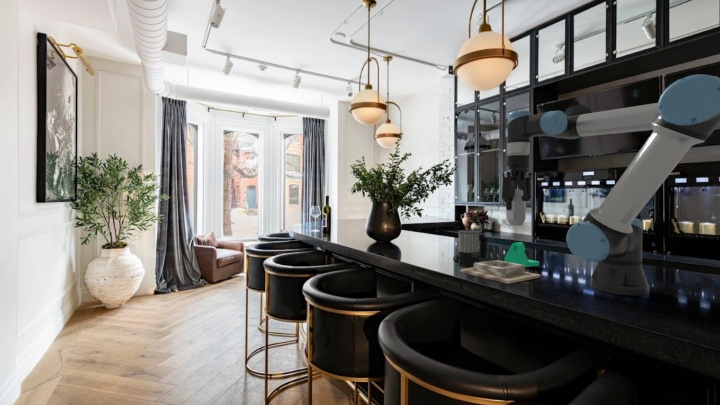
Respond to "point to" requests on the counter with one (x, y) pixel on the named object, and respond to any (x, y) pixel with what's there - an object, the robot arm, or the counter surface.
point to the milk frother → (470, 248)
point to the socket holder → (500, 271)
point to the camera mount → (519, 255)
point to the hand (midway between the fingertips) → (516, 218)
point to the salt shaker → (518, 209)
